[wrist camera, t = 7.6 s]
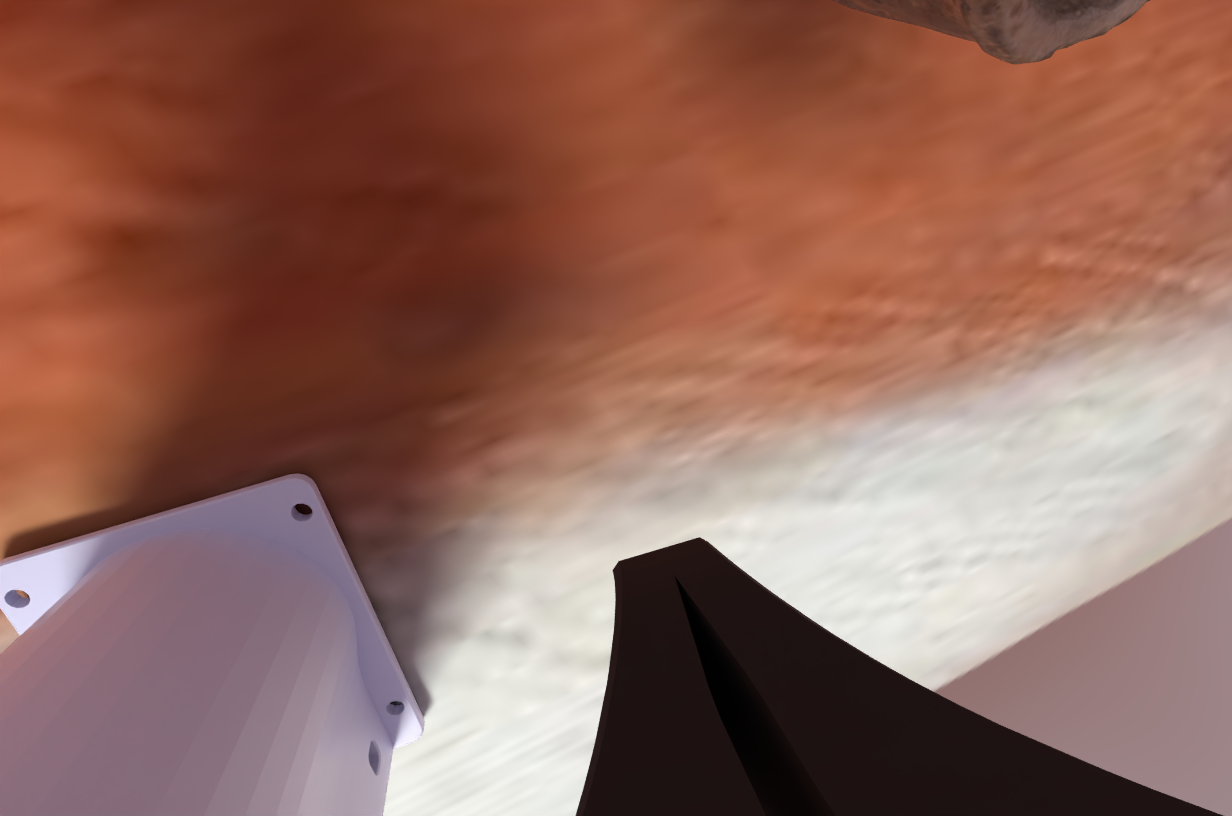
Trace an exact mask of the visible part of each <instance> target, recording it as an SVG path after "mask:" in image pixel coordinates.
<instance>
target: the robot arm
mask: <svg viewBox="0 0 1232 816" xmlns="http://www.w3.org/2000/svg"><path fill="white" fill-rule="evenodd" d="M296 504H306V505H308V506H309V507H310V508H311V509H312V513H311V514H306V515H304V514H301V513H299V512H298V511H297V510H296V509H295V505H296ZM613 574H614V579H615V594H616V602H615V623H614V634H613V642H612V651H611V659H610V667H609V674H608V680H607V686H606V691H605V696H604V701H603V706H602V711H601V716H600V721H599V726H598V731H597V736H596V741H595V745H594V749H593V753H592V757H591V762H590V766H589V770H588V773H587V777H586V781H585V785H584V788H583V792H582V795H581V799H580V802H579V806H578V809H577V813H576V816H1223V815H1220V814H1217V813H1215V812H1212V811H1209V810H1206V809H1204V808H1201V807H1199V806H1196V805H1193V804H1190V803H1188V802H1185V801H1182V800H1180V799H1177V798H1175V797H1172V796H1169V795H1166V794H1164V793H1161V792H1158V791H1156V790H1153V789H1151V788H1148V787H1146V786H1143V785H1141V784H1138V783H1136V782H1133V781H1131V780H1128V779H1126V778H1123V777H1121V776H1118V775H1116V774H1113V773H1111V772H1108V771H1106V770H1103V769H1101V768H1099V767H1096V766H1094V765H1092V764H1089V763H1087V762H1085V761H1082V760H1080V759H1078V758H1076V757H1073V756H1071V755H1069V754H1066V753H1064V752H1062V751H1059V750H1057V749H1054V748H1052V747H1050V746H1047V745H1045V744H1043V743H1040V742H1038V741H1036V740H1034V739H1031V738H1029V737H1027V736H1024V735H1022V734H1020V733H1018V732H1015V731H1013V730H1011V729H1008V728H1006V727H1004V726H1001V725H999V724H997V723H995V722H993V721H991V720H989V719H987V718H985V717H983V716H981V715H978V714H976V713H974V712H972V711H970V710H968V709H966V708H964V707H961V706H960V705H958V704H956V703H954V702H952V701H950V700H948V699H946V698H944V697H942V696H941V695H939V694H937V693H935V692H933V691H931V690H929V689H927V688H925V687H923V686H921V685H919V684H918V683H916V682H914V681H912V680H910V679H908V678H907V677H905V676H903V675H901V674H899V673H898V672H896V671H894V670H892V669H890V668H889V667H887V666H885V665H884V664H882V663H880V662H878V661H877V660H875V659H873V658H871V657H870V656H868V655H866V654H865V653H863V652H862V651H860V650H858V649H857V648H855V647H853V646H852V645H850V644H849V643H847V642H845V641H844V640H842V639H840V638H839V637H837V636H835V635H834V634H832V633H831V632H829V631H828V630H826V629H825V628H823V627H822V626H820V625H819V624H817V623H815V622H814V621H812V620H811V619H810V618H808V617H807V616H805V615H804V614H802V613H801V612H799V611H798V610H796V609H795V608H794V607H792V606H791V605H789V604H788V603H786V602H785V601H783V600H782V599H781V598H779V597H778V596H776V595H775V594H774V593H772V592H771V591H769V590H768V589H767V588H765V587H764V586H763V585H761V584H760V583H759V582H757V581H756V580H755V579H753V578H752V577H751V576H749V575H748V574H747V573H746V572H744V571H743V570H742V569H740V568H739V567H738V566H737V565H735V564H734V563H733V562H732V561H730V560H729V559H728V558H727V557H725V556H724V555H723V554H722V553H721V552H719V551H718V550H717V549H716V548H715V547H713V546H712V545H711V544H710V543H709V542H707V541H705V540H704V539H702V538H700V537H699V538H696V539H692V540H689V541H685V542H682V543H679V544H675V545H672V546H669V547H665V548H662V549H658V550H655V551H652V552H648V553H645V554H642V555H638V556H635V557H632V558H628V559H625V560H621V561H619V562H618V563H617V565H616V566H615V568H614V569H613ZM16 590H21V591H24V592H26V593H27V594H28V595H29V597H30V599H27V598H24V597H21V596H20V595H19V594H18V593H17V591H16ZM0 609H1V610H2V611H3V613H4V614H5V616H6V617H7V618H8V620H9V621H10V622H11V624H12V625H13V627H14V628H15V629H16V631H17V632H18V633H19V635H20V636H19V637H18V638H17V639H16V640H15V641H14V642H13V643H12V644H11V645H10V646H9V647H8V648H7V649H5V650H4V651H3V652H2V653H1V654H0V816H383V812H384V805H385V799H386V792H387V786H388V779H389V773H390V766H391V760H392V753H393V749H395V748H398V747H401V746H404V745H407V744H409V743H412V742H414V741H416V740H418V739H419V738H420V737H421V736H422V733H423V730H424V718H423V715H422V713H421V711H420V709H419V707H418V705H417V702H416V700H415V698H414V696H413V694H412V692H411V689H410V687H409V685H408V683H407V681H406V679H405V676H404V674H403V672H402V670H401V668H400V665H399V663H398V661H397V659H396V657H395V655H394V652H393V650H392V648H391V646H390V644H389V642H388V639H387V637H386V635H385V633H384V631H383V629H382V626H381V624H380V622H379V620H378V618H377V616H376V613H375V611H374V609H373V607H372V605H371V602H370V600H369V598H368V596H367V594H366V592H365V589H364V587H363V585H362V583H361V581H360V579H359V576H358V574H357V572H356V570H355V568H354V566H353V563H352V561H351V559H350V557H349V555H348V552H347V550H346V548H345V546H344V544H343V542H342V539H341V537H340V535H339V533H338V531H337V529H336V526H335V524H334V522H333V520H332V518H331V516H330V513H329V511H328V509H327V507H326V505H325V503H324V500H323V498H322V496H321V494H320V492H319V489H318V487H317V485H316V484H315V482H314V481H313V480H312V479H311V478H309V477H308V476H306V475H303V474H298V473H297V474H289V475H286V476H282V477H279V478H276V479H272V480H269V481H265V482H262V483H259V484H255V485H252V486H248V487H245V488H242V489H238V490H235V491H231V492H228V493H225V494H221V495H218V496H214V497H211V498H208V499H204V500H201V501H198V502H194V503H191V504H187V505H184V506H181V507H177V508H174V509H170V510H167V511H164V512H160V513H157V514H153V515H150V516H147V517H143V518H140V519H137V520H133V521H130V522H126V523H123V524H120V525H116V526H113V527H109V528H106V529H103V530H99V531H96V532H92V533H89V534H86V535H82V536H79V537H75V538H72V539H69V540H65V541H62V542H59V543H55V544H52V545H48V546H45V547H42V548H38V549H35V550H31V551H28V552H25V553H21V554H18V555H14V556H11V557H8V558H4V559H2V560H0ZM393 701H399V702H402V704H401V705H396V706H395V705H392V704H390V703H391V702H393Z"/></svg>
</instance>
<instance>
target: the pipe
mask: <svg viewBox="0 0 1232 816" xmlns="http://www.w3.org/2000/svg"><path fill="white" fill-rule="evenodd" d="M834 1H836V2H838V3H840V4H843V5H845V6H847V7H849V8H852V9H856V10H859V11H863V12H866V13H869V14H873V15H876V16H880V17H884V18H888V19H893V20H897V21H901V22H906V23H910V24H914V25H918V26H922V27H925V28H929V29H932V30H935V31H938V32H941V33H944V34H947V35H951V36H954V37H958V38H962V39H965V40H969V41H974V42H977V43H978V44H979V46H980V47H981V48H982V50H983V51H984V52H985V53H987V54H989V55H992V56H994V57H996V58H998V59H1000V60H1002V61H1005V62H1008V63H1011V64H1023V63H1031V62H1039V61H1042V60H1044V59H1047V58H1050V57H1051V56H1052V55H1053V53H1054V52H1055V51H1056V50H1058V49H1063V48H1067V47H1069V46H1071V45H1073V44H1075V43H1078V42H1080V41H1083V40H1087V39H1090V38H1094V37H1098V36H1101V35H1104V34H1105V33H1106V32H1108V31H1109V30H1110V29H1112V28H1113V27H1115V26H1117V25H1119V24H1121V23H1123V22H1124V21H1126V20H1127V19H1129V18H1130V17H1131V16H1132V15H1133V14H1134V13H1136V12H1137V11H1138V10H1139V9H1140V8H1141V7H1142V6H1143V5H1144V4H1145V3H1146V2H1147V1H1149V0H834Z"/></svg>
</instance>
